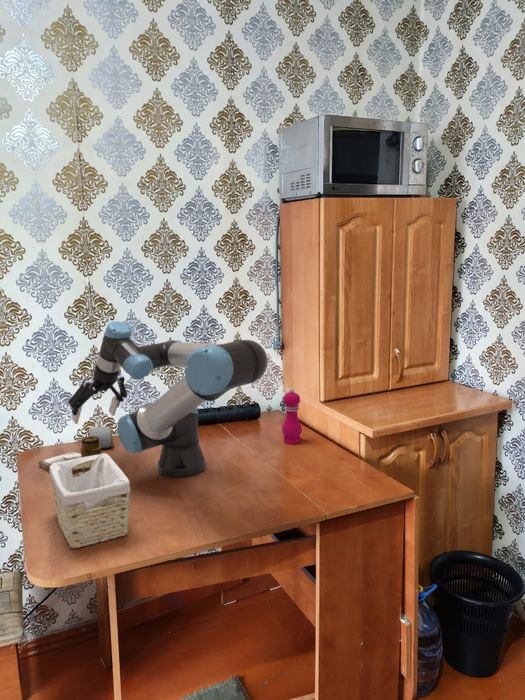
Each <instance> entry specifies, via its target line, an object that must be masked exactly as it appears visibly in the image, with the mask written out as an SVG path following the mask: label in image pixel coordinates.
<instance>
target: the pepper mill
mask: <svg viewBox="0 0 525 700" xmlns="http://www.w3.org/2000/svg"><path fill="white" fill-rule="evenodd" d="M300 402H301V397H300V395H299V394H298V393H297V392H295V388H293V387H292V388H289V391H288V392H286V393H285V395H284V396H283V403H284V410H285V412H286V416H285V420H284V421H283V425H282V428H281V432H282V434H283V435H284V436H283V438H282V439H283V443H284V444H287V445H297V444H301V441H302V440H301V439H302V437H301V434H302V432H303V427H302V424H301V423H300V420H299V418H298V411H299V410H300V408H299V404H301V403H300Z"/></svg>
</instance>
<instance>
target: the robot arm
mask: <svg viewBox="0 0 525 700" xmlns="http://www.w3.org/2000/svg"><path fill="white" fill-rule="evenodd" d="M131 336H132V328H131V326H129V325H128V324H127V323H125V322H123V321H111V322H109V323H108V324H107V326H106V328H105V331H104V333H103V338H102V342H101V346H100V349H99V353H98V357H97V360H96V364H95V365H94V366H95V367H94V371H93V377H92V379H91V380H88V379H87V378H84V379H83V381H82V383H81V384H80V385H79V387H78V389H77V390H76V391H75V393H74V394H73V395H72V396H71V397H70V399H69V400H68V401H67V403H68V405H69V406H70V408H72V409H71V413H72V416H71V420H72V421H73V422H74V424H75V425H78V423H79V420H80V417H81V412H82V406H83V405H84V404H85V403H86V402H87V401H88V400H89V399H91V398H92V397H93V396H94V395H96V394H97V393H100V392H103V391H108V390H109V389H110V390H111V392H112V393H113V394H114V395H113V396H112V399H111V401H110V405H109V409H108V413H110V415H111V416H112V417H114V416H115V415H116V411H117V408H118V407H119V406H120V403H122V402H123V401H124V398H125V399H126V398H128V394H127V390H126V386H125V385H126V384H125V380H126V379H125V377H124V376H123V375H122V374H121V373H120V370H121V368H122V369H123V371H124V372H125V373H126V374H128V375H129V377H131V378H132V379H134V380H143V379H144V378H145V377H148V376H149V375H150V374H151V373H152V371H153V370H154V369H158V368H164V367H179V368H184V376H183V377H181V379H180V380H178V381H177V382H176V383H175V384H174V385H173V386H171V387H170V388H169V389H168V390H167V391H166V392H164V394H162V395H161V396H160V397H158V398H157V399H156V400H155V401H154V402H147V403H144V404H143V405H141V406H140V407H139V408H138V409H137V410H135V411H134V412H132V413H128V414H124V415H122V416H121V417H119V419H118V422H117V434H118V438H119V441H120V443H121V445H122V447H123V449H124V450H126V451H127V452H128V453H130V454H137V453H138V454H139V453H140V454H141V453H142V452H145V451H146V450H150V449H153V448H156V447H159V446H161V450H160V453H159V454H160V455H159V459H158V462H157V471H158V473H159V474H161V475H163V476H166V477H169V478H170V477H171V478H184V477H185V478H186V477H190V476H194V475H197V474H199V473H202V472H203V471H204V470H205V468H206V460H205V457H204V453H203V451H202V448H201V446H200V442H199V441H200V438H199V436H200V435H199V411H198V407H199V406H200V405H202V404H204V402H213V401H216V400H218V399H219V398H221V397H222V396H223V395H224V394H226V393H227V392H229V391H230V390H232V389H235V388H239V387H242V386H243V387H244V386H245V385H250V384H253V383H255V382H257V381H258V380H260V379H261V378H262V377H263V376H264V374H265V372H266V371H267V368H268V363H269V362H268V355H267V352H266V350H265V349H264V347H263V346H262V345H261V344H260V343H258V342H256V341H254V340H251V339H240V340H233V341H231V342H230V341H229V342H227V343H211V342H210V343H208V342H207V343H206V342H182V341H181V340H179V339H178V340H177V339H175V340H168V341H164V342H159V343H152V344H146V345H140V346H138V345H136V343H135V342H134V341H133V340H132V339H131ZM116 383H117V384H118V389H119V392H120V393H119V392H118V391H117V389H116V388H115V386H114V384H116Z"/></svg>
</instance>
